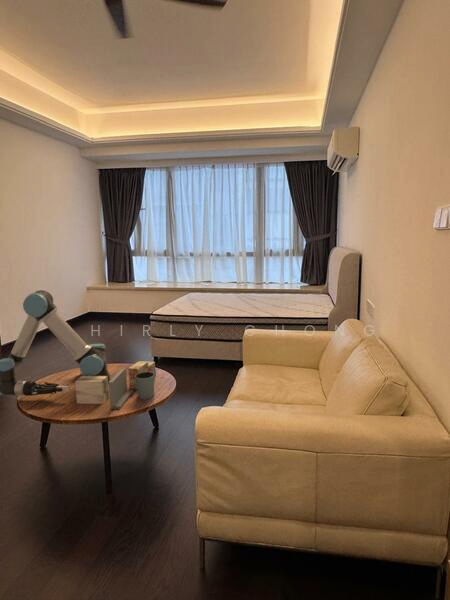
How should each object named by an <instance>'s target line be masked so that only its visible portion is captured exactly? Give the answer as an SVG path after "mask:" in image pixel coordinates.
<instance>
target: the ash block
mask: <svg viewBox="0 0 450 600" xmlns="http://www.w3.org/2000/svg"><path fill="white" fill-rule="evenodd" d="M74 384H75V395H76V396H75V397H76V404H86V405H88V404H93V405H94V404H95V405H96V404H97V405H103V404H105V403H106V402H107V400H108V399H110V396H109V383H108V376H85V375H81V376H79V378H77V379H76V380H75V381H74Z"/></svg>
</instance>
